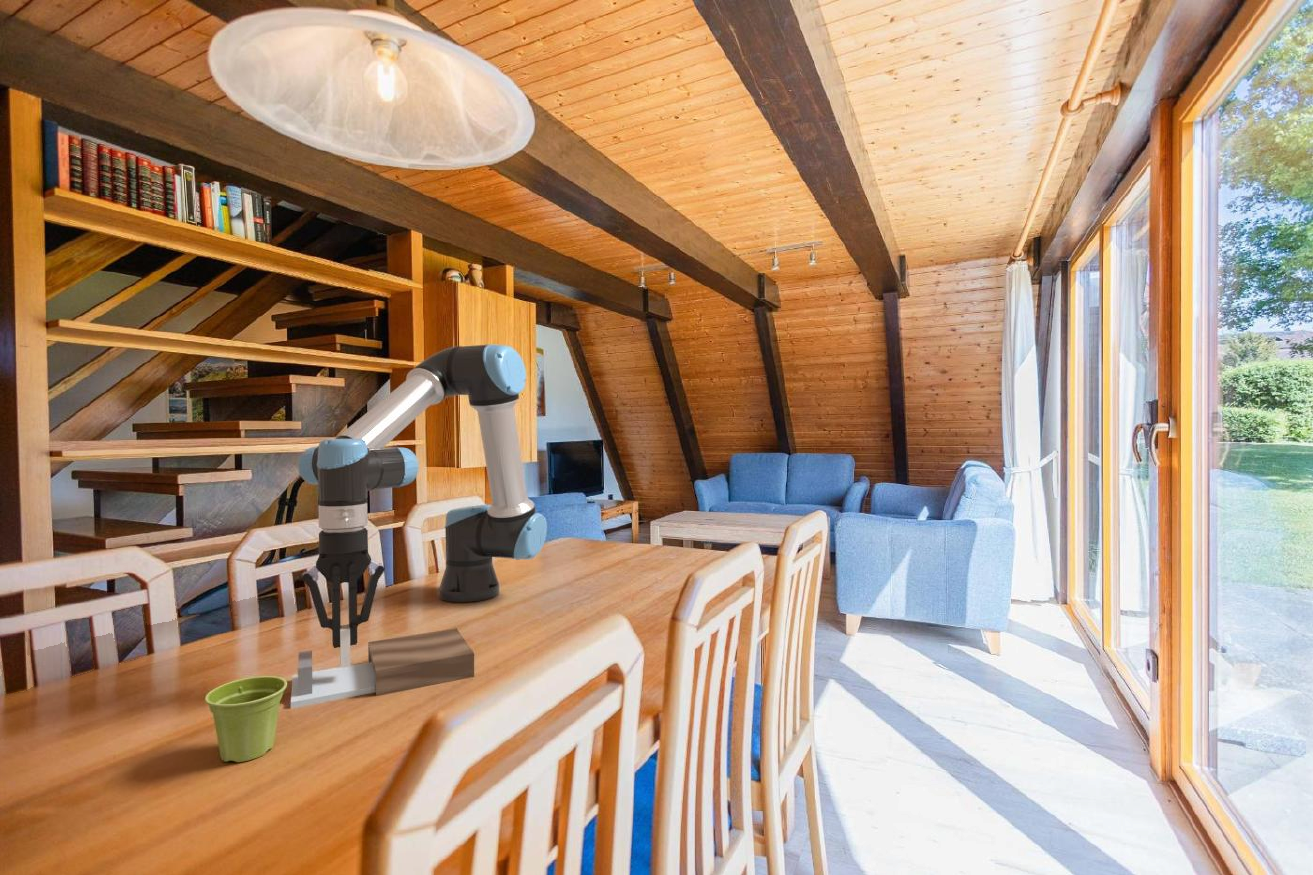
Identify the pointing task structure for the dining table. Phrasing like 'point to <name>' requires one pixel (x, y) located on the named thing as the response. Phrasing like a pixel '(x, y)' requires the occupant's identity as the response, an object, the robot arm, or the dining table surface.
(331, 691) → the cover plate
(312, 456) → the robot arm
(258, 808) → the dining table surface
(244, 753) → the plant pot
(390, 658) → the walnut case
